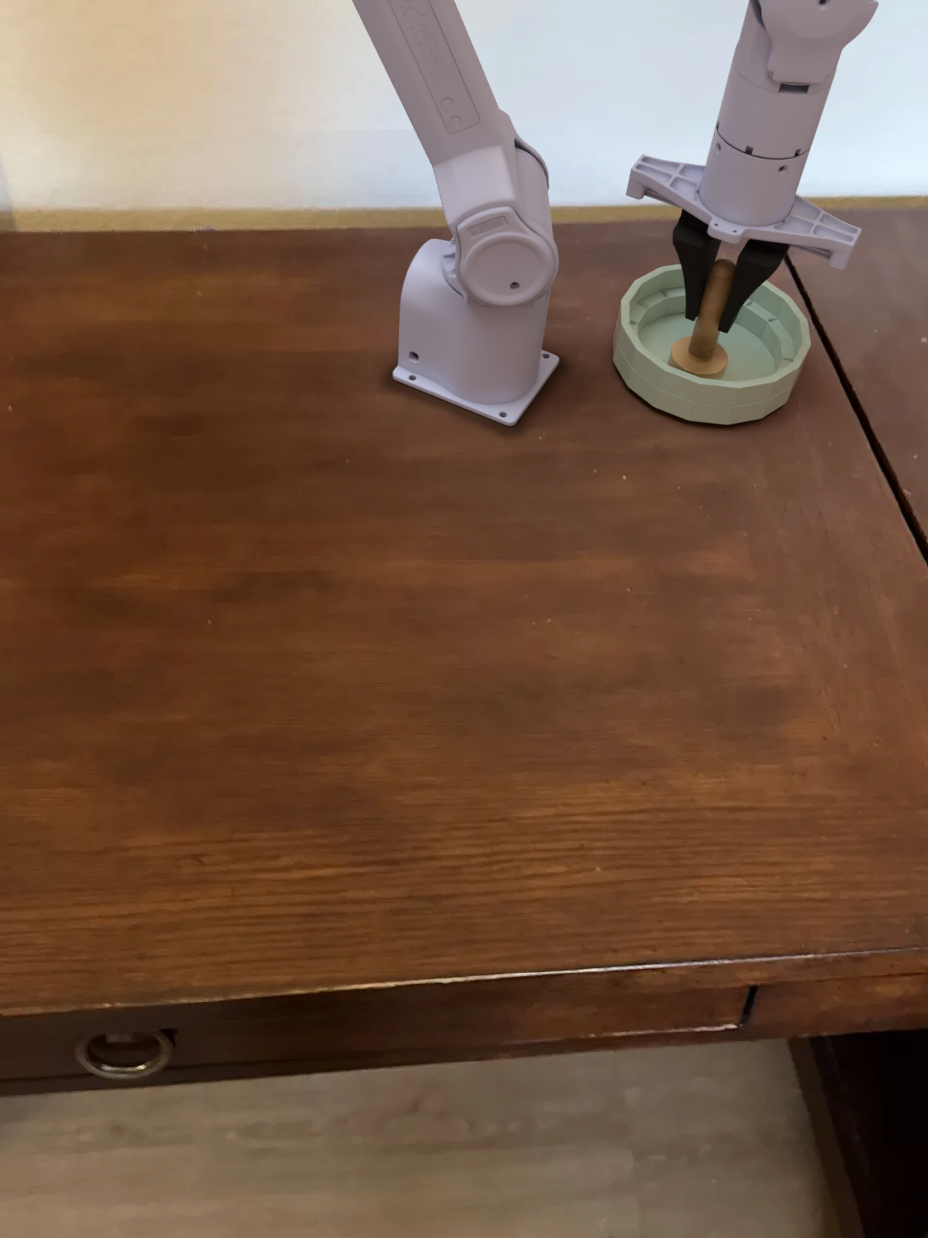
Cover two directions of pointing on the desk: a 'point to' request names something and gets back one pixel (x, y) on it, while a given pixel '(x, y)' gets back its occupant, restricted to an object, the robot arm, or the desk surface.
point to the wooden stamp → (707, 328)
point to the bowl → (756, 343)
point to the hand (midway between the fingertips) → (710, 317)
